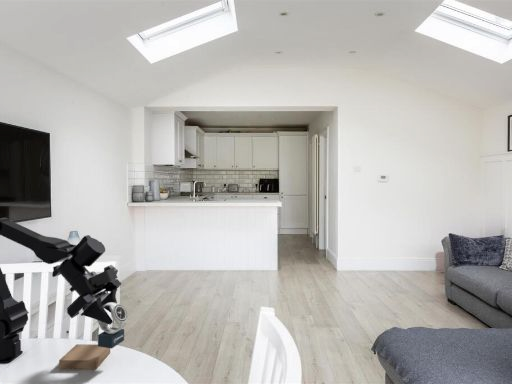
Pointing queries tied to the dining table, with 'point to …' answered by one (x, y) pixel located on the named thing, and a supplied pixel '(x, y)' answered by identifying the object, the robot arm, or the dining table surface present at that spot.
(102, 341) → the watch
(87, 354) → the plinth
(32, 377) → the dining table surface
